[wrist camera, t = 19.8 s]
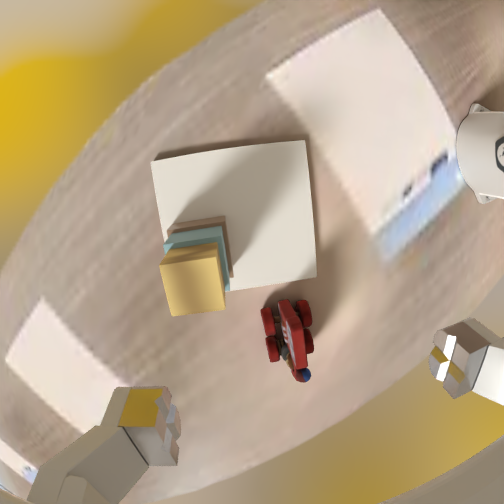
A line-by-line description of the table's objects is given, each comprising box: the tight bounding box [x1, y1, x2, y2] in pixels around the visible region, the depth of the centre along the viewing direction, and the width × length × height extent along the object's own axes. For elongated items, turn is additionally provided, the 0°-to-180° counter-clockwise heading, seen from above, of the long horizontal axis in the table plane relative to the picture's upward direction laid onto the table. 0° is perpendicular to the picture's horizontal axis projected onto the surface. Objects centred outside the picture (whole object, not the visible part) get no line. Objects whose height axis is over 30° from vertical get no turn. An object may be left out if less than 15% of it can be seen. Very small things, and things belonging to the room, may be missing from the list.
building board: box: [151, 140, 317, 292], centre depth 37 cm, size 20×19×5 cm
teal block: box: [163, 226, 230, 291], centre depth 33 cm, size 6×6×5 cm
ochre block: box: [159, 242, 225, 316], centre depth 28 cm, size 5×5×5 cm
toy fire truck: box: [261, 299, 314, 382], centre depth 40 cm, size 7×12×10 cm, turn 9°
